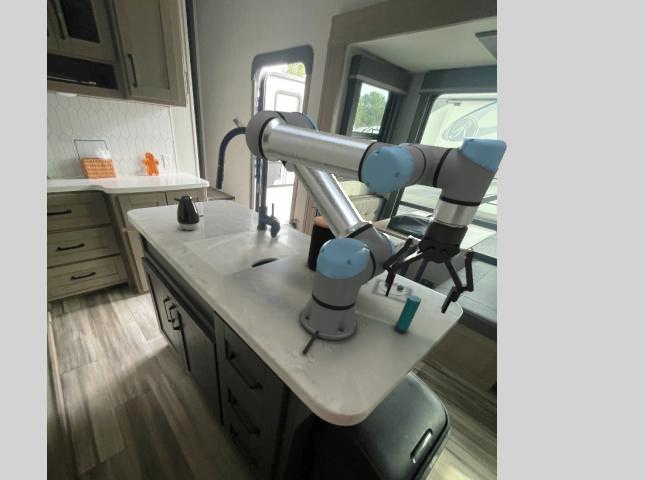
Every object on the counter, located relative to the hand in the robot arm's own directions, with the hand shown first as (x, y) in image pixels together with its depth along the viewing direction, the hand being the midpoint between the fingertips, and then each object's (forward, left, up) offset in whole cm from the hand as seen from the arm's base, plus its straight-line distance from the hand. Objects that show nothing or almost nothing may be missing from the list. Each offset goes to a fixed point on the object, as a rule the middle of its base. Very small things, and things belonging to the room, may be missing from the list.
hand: (413, 302), depth 70 cm
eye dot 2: (+21, +3, -9) cm, 23 cm away
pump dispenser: (+24, +99, -10) cm, 103 cm away
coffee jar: (+24, +33, -10) cm, 41 cm away
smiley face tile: (+21, +5, -10) cm, 24 cm away
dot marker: (0, 0, -10) cm, 10 cm away
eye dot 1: (+21, +7, -9) cm, 24 cm away
